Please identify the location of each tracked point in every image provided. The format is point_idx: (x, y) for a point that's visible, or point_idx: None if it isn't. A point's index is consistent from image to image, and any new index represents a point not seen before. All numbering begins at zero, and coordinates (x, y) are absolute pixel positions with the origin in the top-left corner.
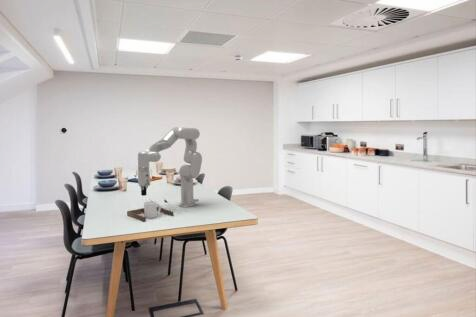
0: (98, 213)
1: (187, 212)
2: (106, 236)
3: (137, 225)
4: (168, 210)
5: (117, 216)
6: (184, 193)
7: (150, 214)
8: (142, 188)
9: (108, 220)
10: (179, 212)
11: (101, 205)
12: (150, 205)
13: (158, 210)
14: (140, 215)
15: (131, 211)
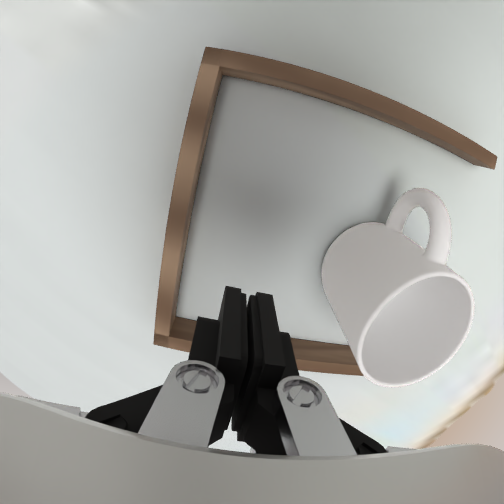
0: (12, 358)
1: (482, 34)
2: None
3: (395, 402)
4: (455, 138)
5: (136, 366)
6: None
7: (402, 310)
8: (209, 443)
9: None
10: (449, 46)
11: None
12: (439, 353)
13: (410, 209)
14: (355, 367)
15: (171, 318)
